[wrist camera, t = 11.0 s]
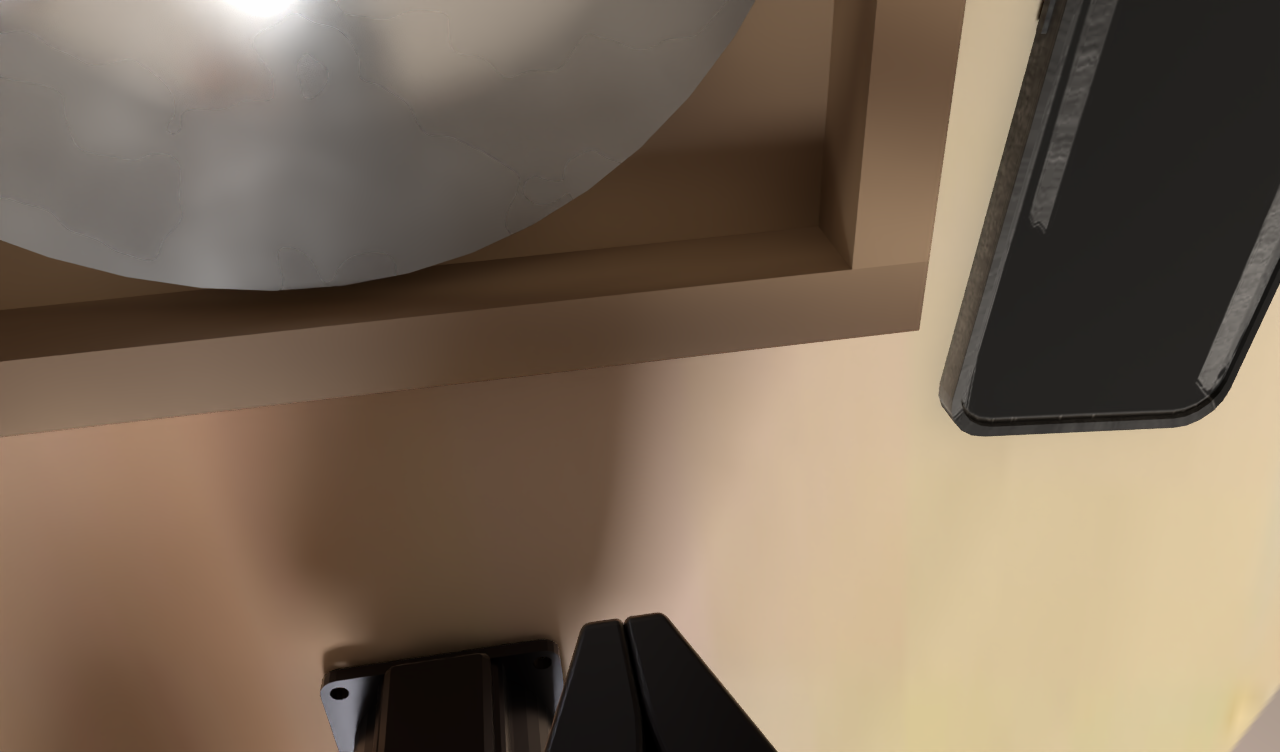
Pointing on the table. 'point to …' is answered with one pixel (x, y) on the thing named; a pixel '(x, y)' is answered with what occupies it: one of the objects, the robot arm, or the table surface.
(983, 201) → the table surface
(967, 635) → the table surface
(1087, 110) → the phone
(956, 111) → the table surface
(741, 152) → the square wooden tray
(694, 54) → the dial
